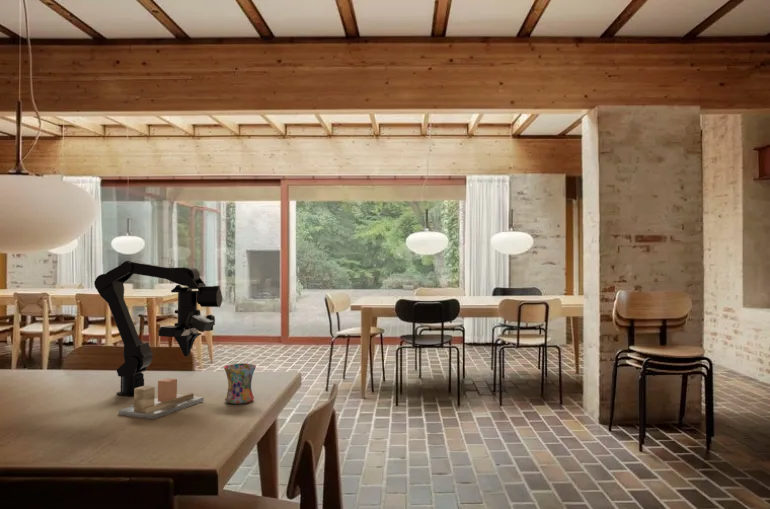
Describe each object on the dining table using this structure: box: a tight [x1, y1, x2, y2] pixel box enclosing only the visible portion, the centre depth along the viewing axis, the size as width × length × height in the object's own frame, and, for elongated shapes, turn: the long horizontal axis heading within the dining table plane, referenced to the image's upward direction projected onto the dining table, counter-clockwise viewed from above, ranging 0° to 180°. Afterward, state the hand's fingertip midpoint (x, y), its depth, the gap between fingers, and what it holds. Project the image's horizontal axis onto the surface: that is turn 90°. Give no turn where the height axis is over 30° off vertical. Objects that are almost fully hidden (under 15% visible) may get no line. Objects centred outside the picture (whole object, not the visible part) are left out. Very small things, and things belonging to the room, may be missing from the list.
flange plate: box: [117, 393, 205, 420], centre depth 151 cm, size 12×20×1 cm, turn 159°
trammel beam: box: [133, 385, 195, 413], centre depth 151 cm, size 5×18×6 cm, turn 160°
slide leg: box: [157, 377, 178, 402], centre depth 153 cm, size 4×4×6 cm
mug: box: [223, 363, 257, 405], centre depth 160 cm, size 12×9×11 cm
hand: (186, 356), depth 167 cm, fingers closed
